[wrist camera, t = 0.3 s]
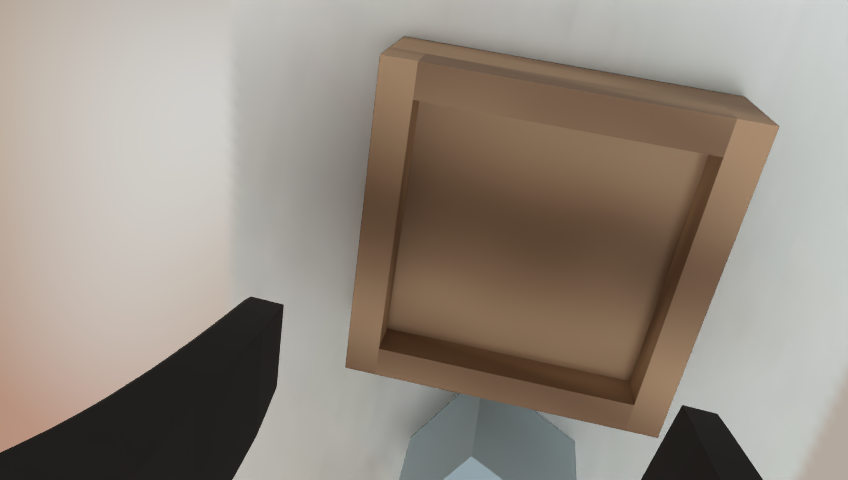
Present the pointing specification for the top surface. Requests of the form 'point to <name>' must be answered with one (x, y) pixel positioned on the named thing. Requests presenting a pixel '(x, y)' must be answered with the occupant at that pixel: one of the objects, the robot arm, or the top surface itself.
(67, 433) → the robot arm
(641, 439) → the top surface
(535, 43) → the top surface
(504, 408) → the block
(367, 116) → the top surface
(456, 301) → the walnut base
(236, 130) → the top surface
